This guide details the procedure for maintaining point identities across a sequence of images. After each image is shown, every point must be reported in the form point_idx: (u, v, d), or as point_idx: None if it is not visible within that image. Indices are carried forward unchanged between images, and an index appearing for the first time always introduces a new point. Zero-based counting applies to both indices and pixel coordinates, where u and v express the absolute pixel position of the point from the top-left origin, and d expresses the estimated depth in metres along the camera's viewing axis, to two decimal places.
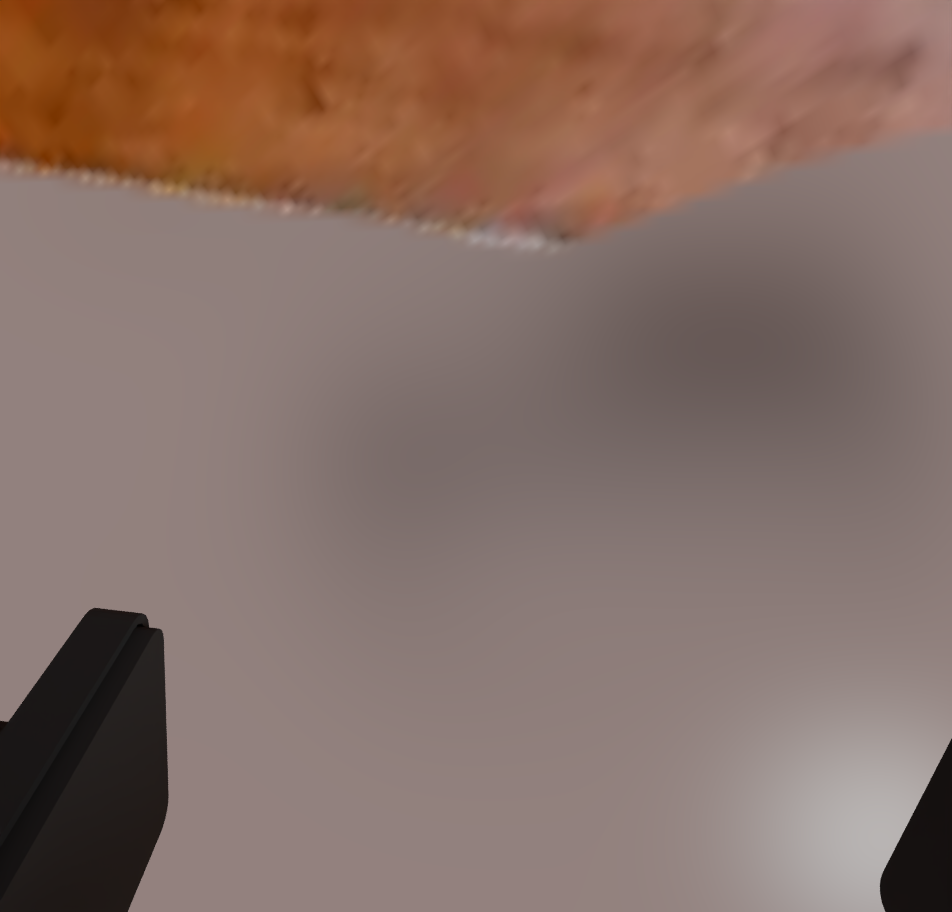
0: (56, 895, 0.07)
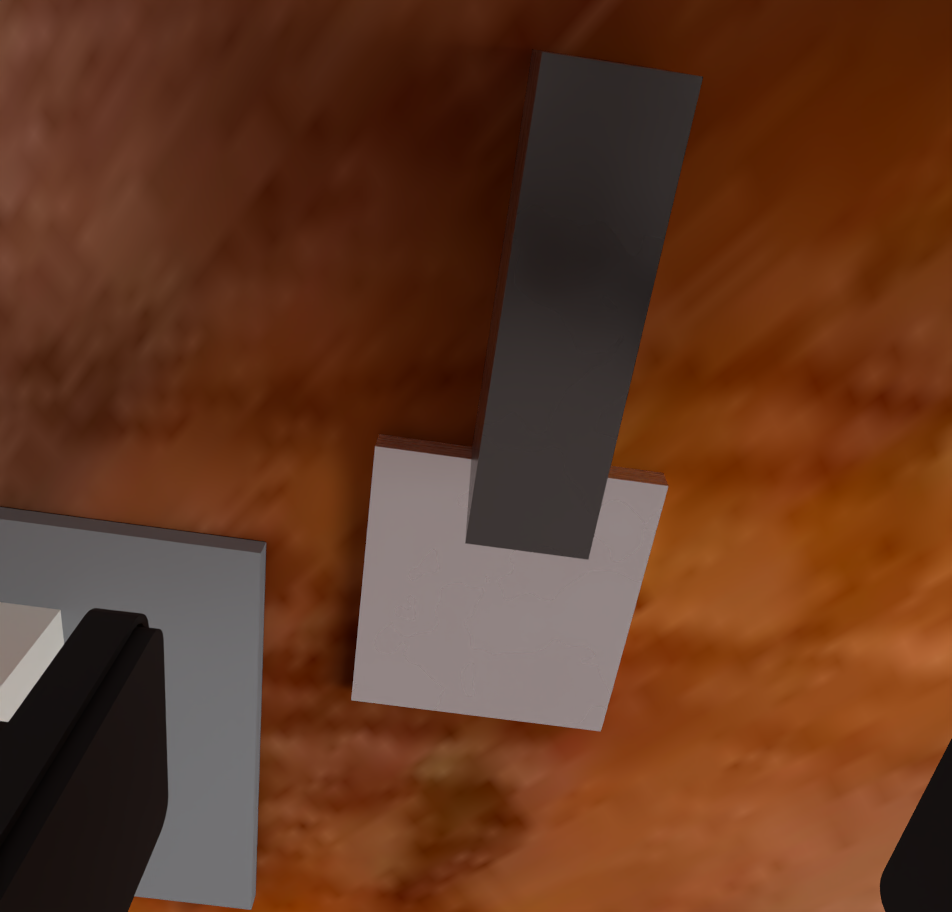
0: (56, 895, 0.07)
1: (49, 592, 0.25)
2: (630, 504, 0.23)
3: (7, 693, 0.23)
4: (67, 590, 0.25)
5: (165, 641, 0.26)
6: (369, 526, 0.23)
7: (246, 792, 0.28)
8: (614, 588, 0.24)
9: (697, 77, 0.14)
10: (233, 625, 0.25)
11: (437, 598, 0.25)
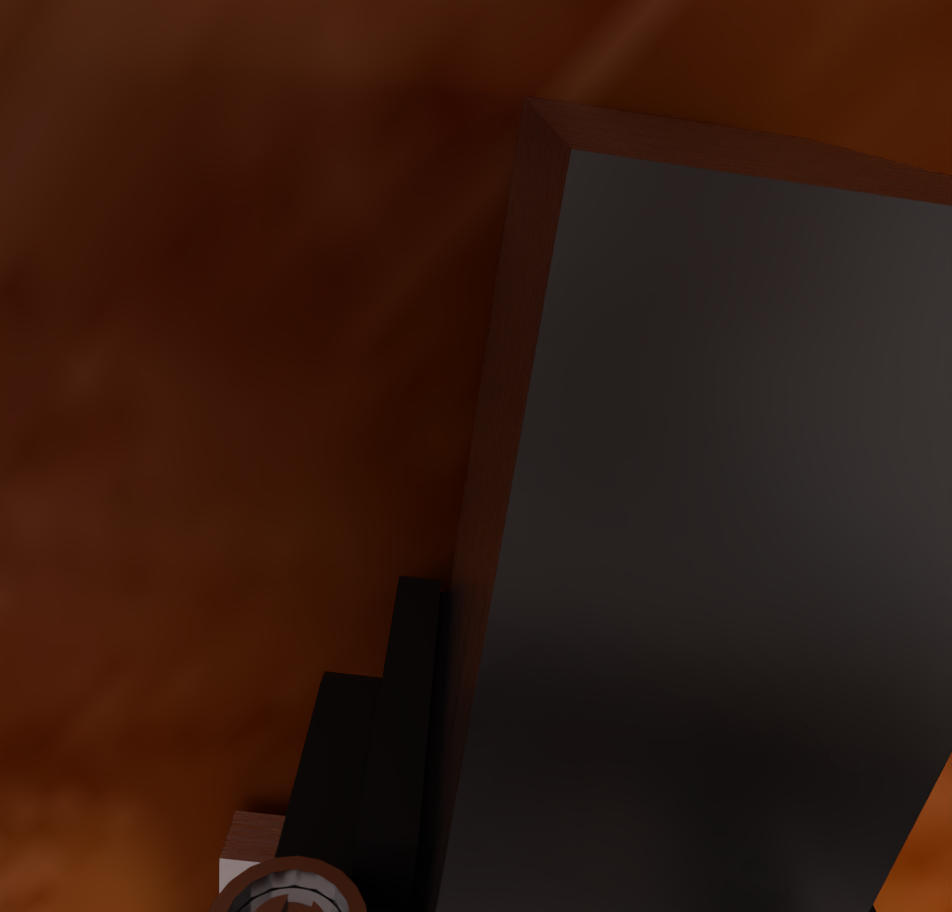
0: None
1: None
2: None
3: None
4: None
5: None
6: None
7: None
8: None
9: None
10: None
11: None
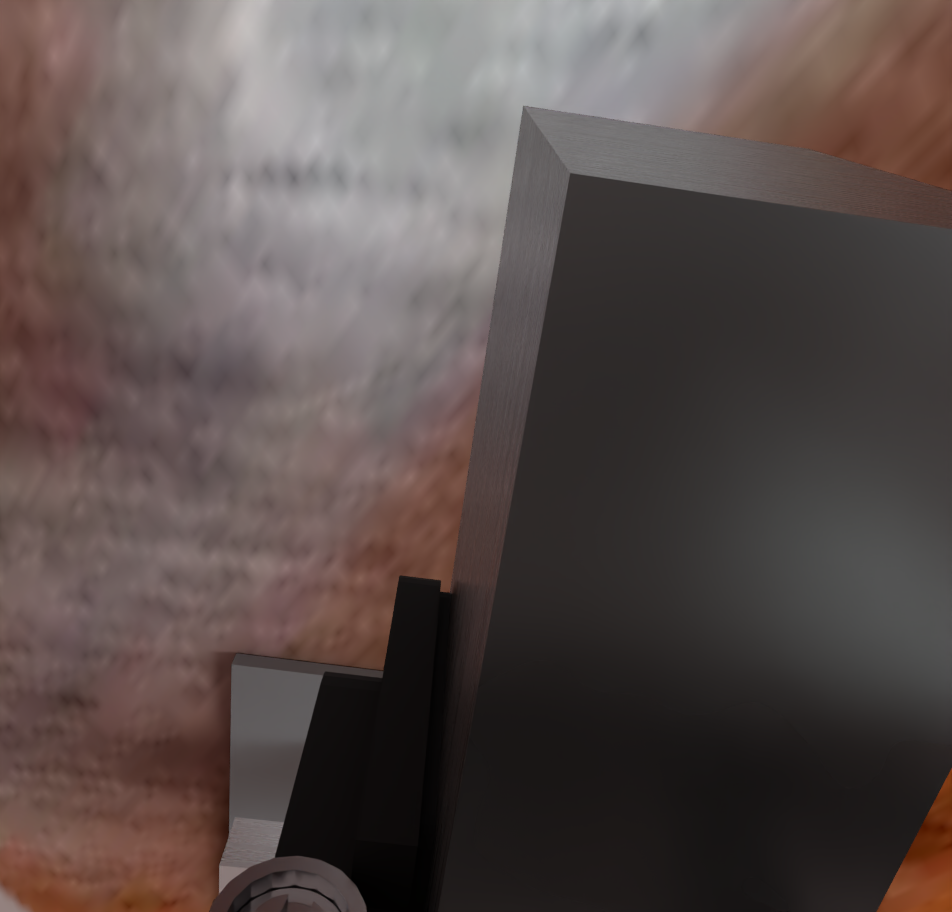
0: None
1: None
2: None
3: None
4: None
5: None
6: None
7: None
8: None
9: None
10: None
11: None
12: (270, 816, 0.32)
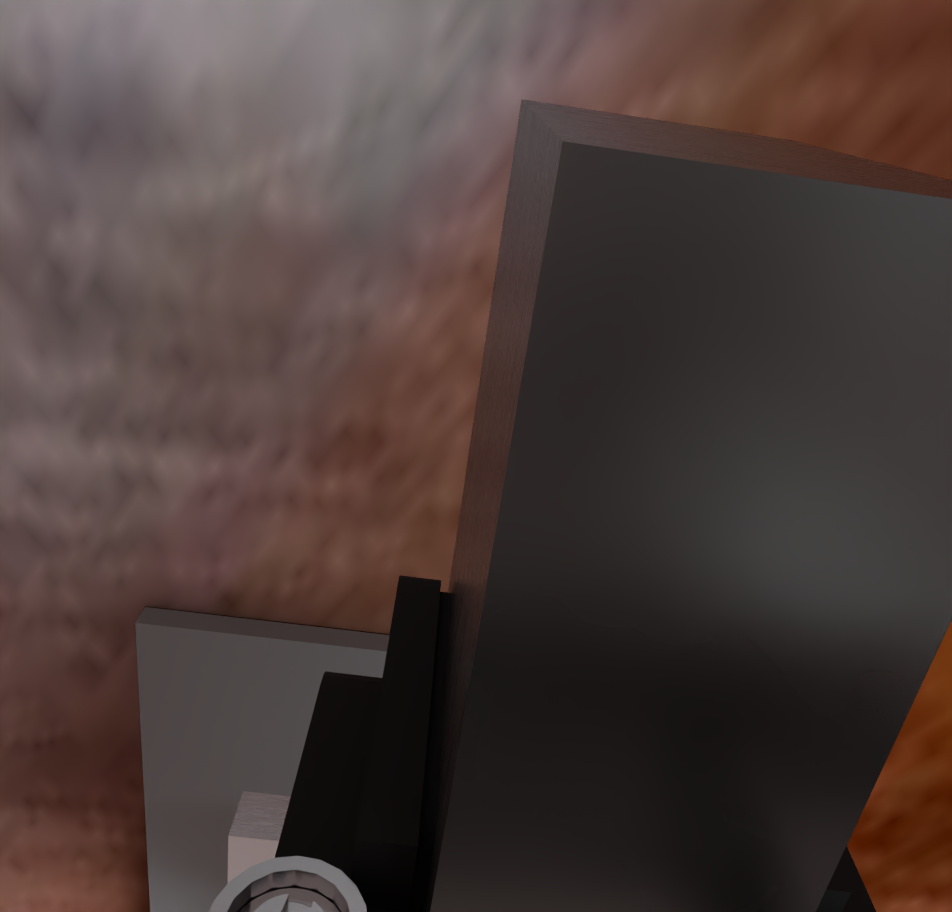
0: None
1: None
2: None
3: None
4: None
5: None
6: None
7: None
8: None
9: None
10: None
11: None
12: (207, 850, 0.22)
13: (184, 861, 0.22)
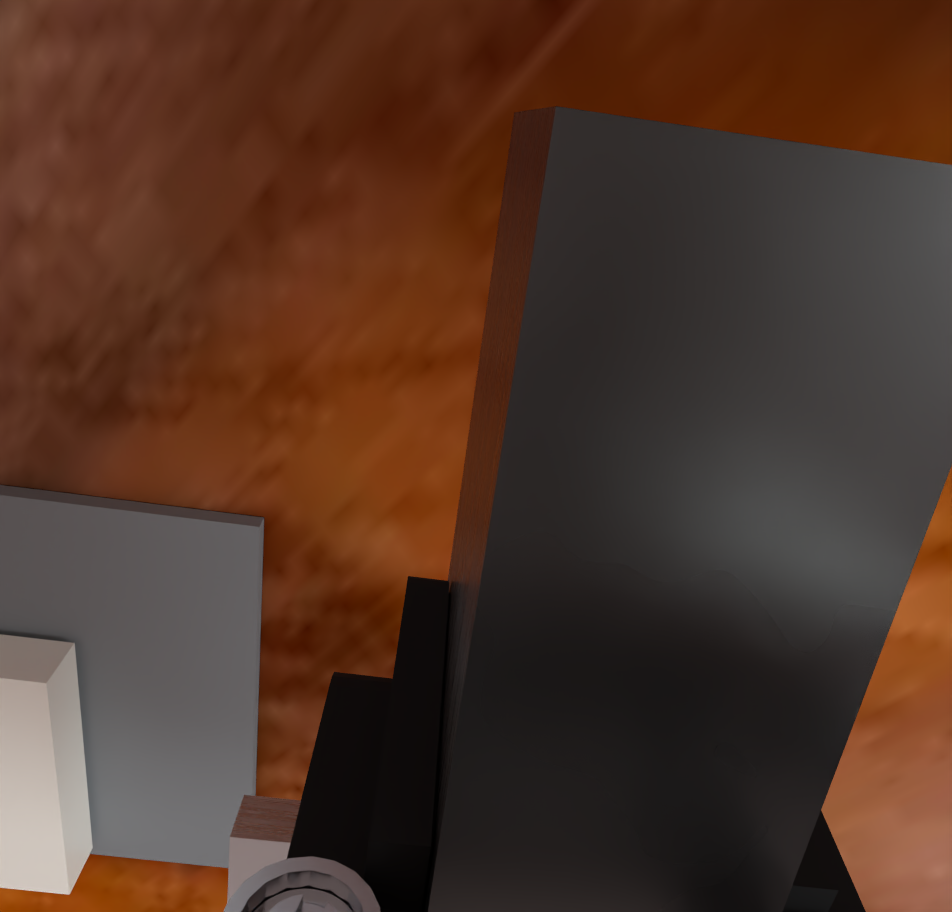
0: None
1: (63, 566, 0.27)
2: None
3: (61, 745, 0.28)
4: (80, 564, 0.27)
5: (171, 611, 0.28)
6: None
7: (245, 755, 0.31)
8: None
9: None
10: (234, 595, 0.28)
11: None
12: None
13: None
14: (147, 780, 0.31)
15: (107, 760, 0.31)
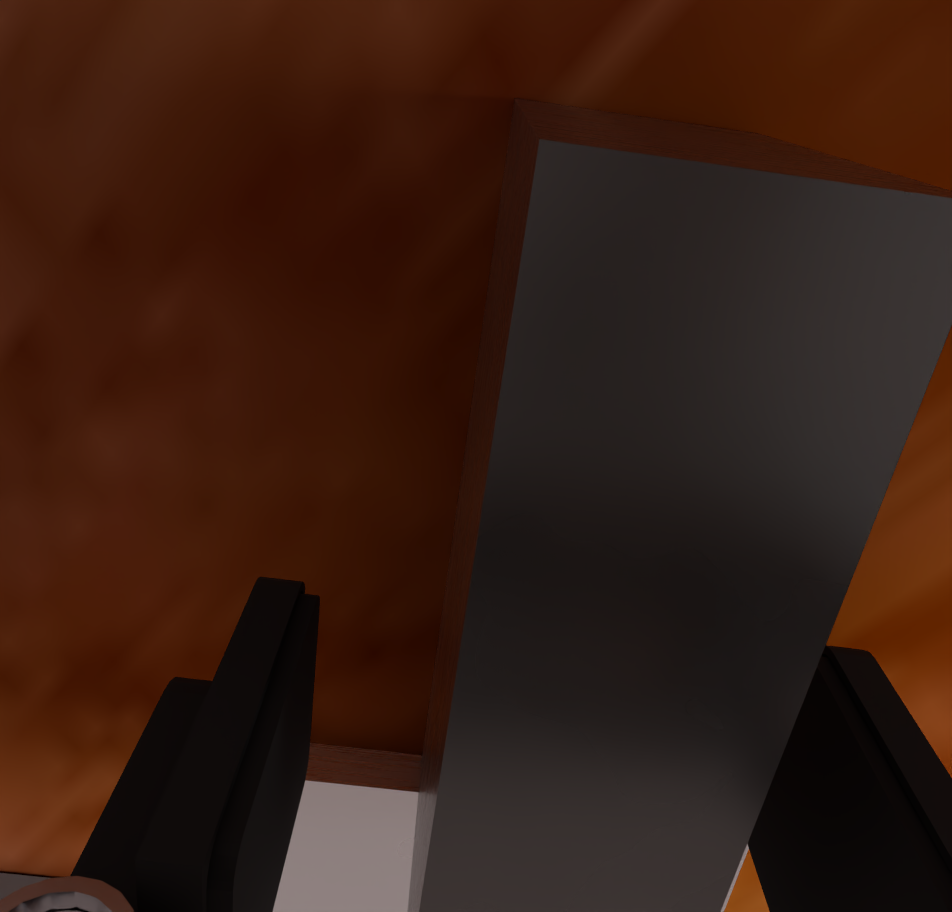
0: (265, 823, 0.08)
1: None
2: None
3: None
4: None
5: None
6: None
7: None
8: None
9: None
10: None
11: None
12: None
13: None
14: None
15: None
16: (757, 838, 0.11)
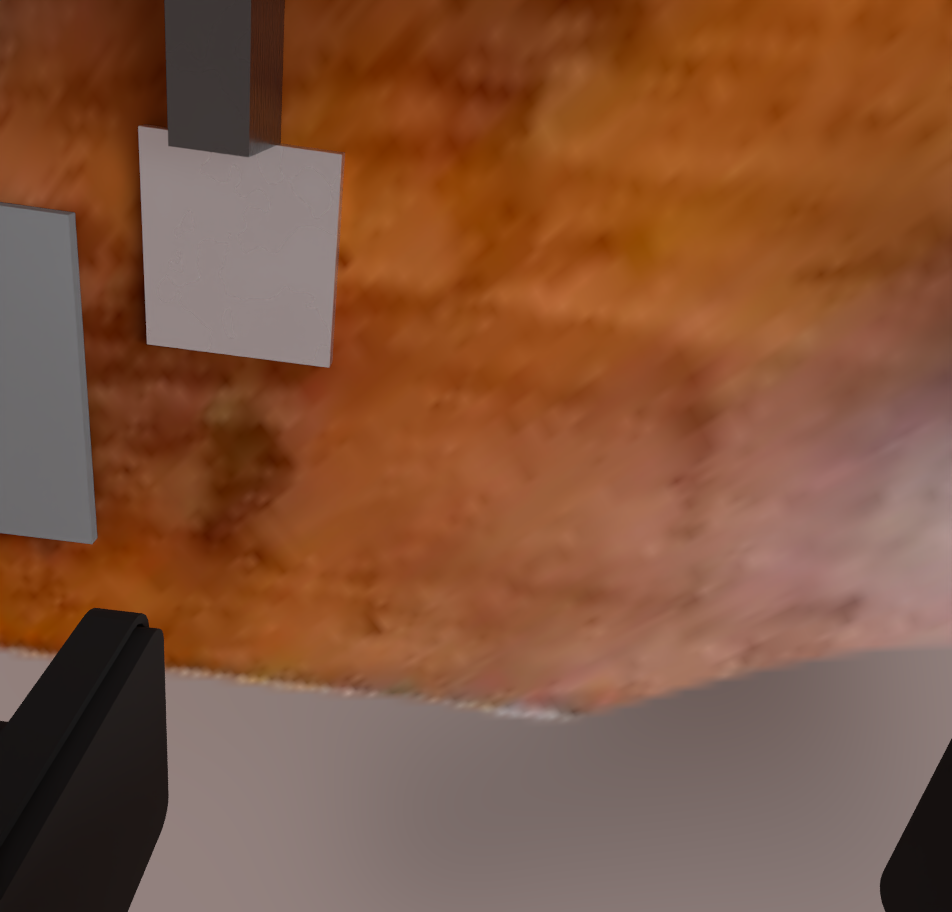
0: (56, 894, 0.07)
1: None
2: (318, 170, 0.33)
3: None
4: None
5: (7, 293, 0.36)
6: (142, 192, 0.34)
7: (77, 430, 0.39)
8: (318, 241, 0.35)
9: None
10: (54, 278, 0.35)
11: (196, 252, 0.35)
12: None
13: None
14: (2, 455, 0.39)
15: None
16: None
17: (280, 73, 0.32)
